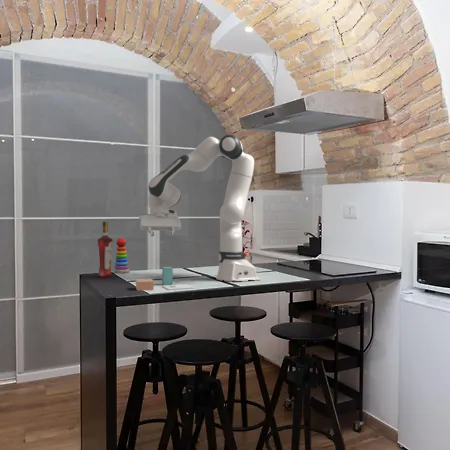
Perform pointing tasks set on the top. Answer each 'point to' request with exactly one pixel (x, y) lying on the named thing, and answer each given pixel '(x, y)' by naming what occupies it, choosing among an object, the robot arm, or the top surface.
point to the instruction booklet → (177, 287)
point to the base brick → (144, 284)
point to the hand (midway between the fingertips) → (162, 235)
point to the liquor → (105, 253)
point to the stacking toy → (121, 257)
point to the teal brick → (167, 275)
